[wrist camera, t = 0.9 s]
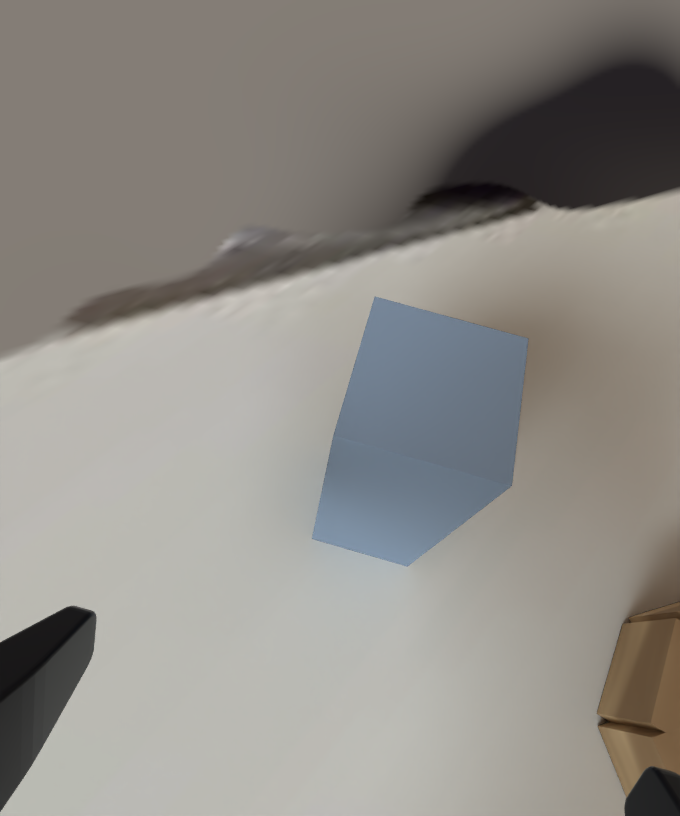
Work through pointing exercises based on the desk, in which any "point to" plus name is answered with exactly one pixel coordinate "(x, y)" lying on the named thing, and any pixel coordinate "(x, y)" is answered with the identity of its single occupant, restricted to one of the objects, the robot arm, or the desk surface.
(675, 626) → the octagonal cardboard ring
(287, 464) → the desk surface
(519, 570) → the desk surface
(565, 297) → the desk surface
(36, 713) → the robot arm
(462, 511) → the light blue block
